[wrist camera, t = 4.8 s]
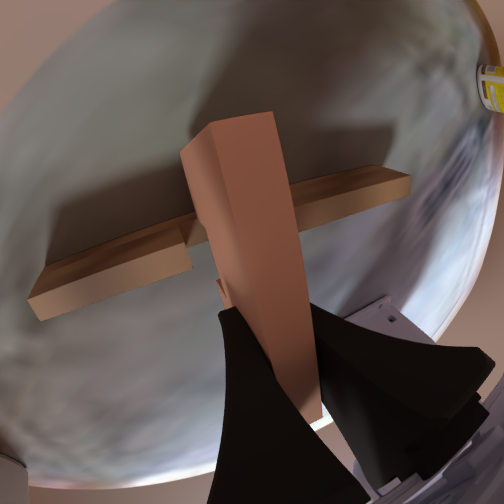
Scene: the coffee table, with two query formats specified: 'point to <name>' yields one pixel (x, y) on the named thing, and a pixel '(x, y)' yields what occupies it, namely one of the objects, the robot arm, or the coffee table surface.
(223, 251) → the tan flat plank
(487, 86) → the supplement bottle
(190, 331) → the coffee table surface
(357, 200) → the walnut board
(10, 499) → the beverage can
